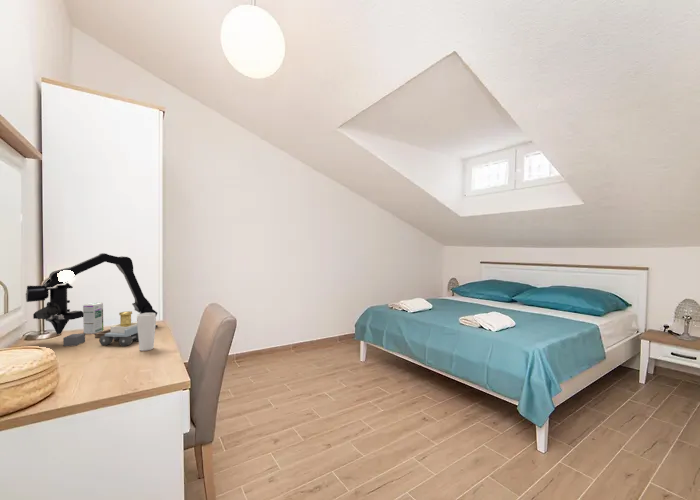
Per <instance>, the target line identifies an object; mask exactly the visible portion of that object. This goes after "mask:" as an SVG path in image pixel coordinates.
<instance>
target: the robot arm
mask: <svg viewBox="0 0 700 500" xmlns="http://www.w3.org/2000/svg"><path fill="white" fill-rule="evenodd" d="M103 263H110V264H112V265H115V266H116V267H117V269H118V270H119V271H120V273H121V274H122V275H123V276H124V278H125V281H126V283H127V285H128V287H129V290H130V292H131V294H132V296H133V298H134V302H133V303H132V304H131V305H132V306H133V308H134V311H135V312H137V313H138V314H142V313H155V314H156V317H157V315H158V312H157V310H155V309H153V306H152V304H151V303H150V301H149V300H148V299H147V298H146V297H145V296H144V293H143V290H142V288H141V286H140V284H139V282H138V280H137V276H136V275H135V273H134V263H133V260H132V259H131V258H130V257H128V256H122V255H121V256H116V255H111V254H108V253H104V252H103V253H99V254H98V255H96V256H94V257H91V258H88V259H86V260H84V261H82V262H80V263H77V264H75V265H73V266H70V267H65V268H61V269H57V270H55V271H52V272H51V273H49V276H48V279H47V280H46V281H45V282H44V283H43V284H40V285H27V286H26V292H25V302H26V303H32V302H43V301H46V299H48V298H49V301H48V302H47V303H46V306H44V307H42V308H40V309H38V310H37V311H34V313H33V314H32V319H34V320H35V319H36V320H45V322H49V323H50V324H51V325H52V326H53V329H54V330H55V332H56V335H61V334H62V333H63V331H64V329H65V327H66V326H67V323H69V321H70V320H71V321H72V320H76V319H80V318H83V317H84V312H83V310H72V311H71V309H69V308H68V304H69V303H71V301H70V300H69V299H68V289H73V287H74V286H72V285H71V284H70V283H68V282H65V283H63V282H59V281H58V277H57V273H59V272H60V271H63V270H71V271H73V272H74V274H75V276H74V277H76V276H77V275H79V274H80V273H83V272H84V271H85V272H86V271H88V270H90V269H92V268H94V267H96V266H98V265H101V264H103ZM49 278H50V279H49ZM158 326H159V325H158V324H156V326H155V328H156V327H158Z"/></svg>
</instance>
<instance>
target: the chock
mask: <svg viewBox="0 0 700 500" xmlns="http://www.w3.org/2000/svg"><path fill="white" fill-rule="evenodd" d="M62 340H63V347H72V346H73V347H77V346H78V345H80V344H83V343H85V342H86V333H72V334H69V335H67V336H65V337H63V339H62Z"/></svg>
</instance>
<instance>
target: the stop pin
mask: <svg viewBox="0 0 700 500" xmlns="http://www.w3.org/2000/svg"><path fill="white" fill-rule="evenodd" d="M132 314H133V311H130V310H129V311H120V312H119V313H118V315H119V316H120V320H119V321H120V323H119V324H120V327H128V326H131V323H132Z"/></svg>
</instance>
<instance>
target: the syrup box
mask: <svg viewBox="0 0 700 500" xmlns="http://www.w3.org/2000/svg"><path fill="white" fill-rule="evenodd" d="M82 312H84V317H82V319H83V320H82V321H83V334H85V335H86V334H87V335H88V334H90V335H93V334H94V335H95V333H99V332H102V331H104V303H103V302H91V303H87V304H83V305H82Z"/></svg>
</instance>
